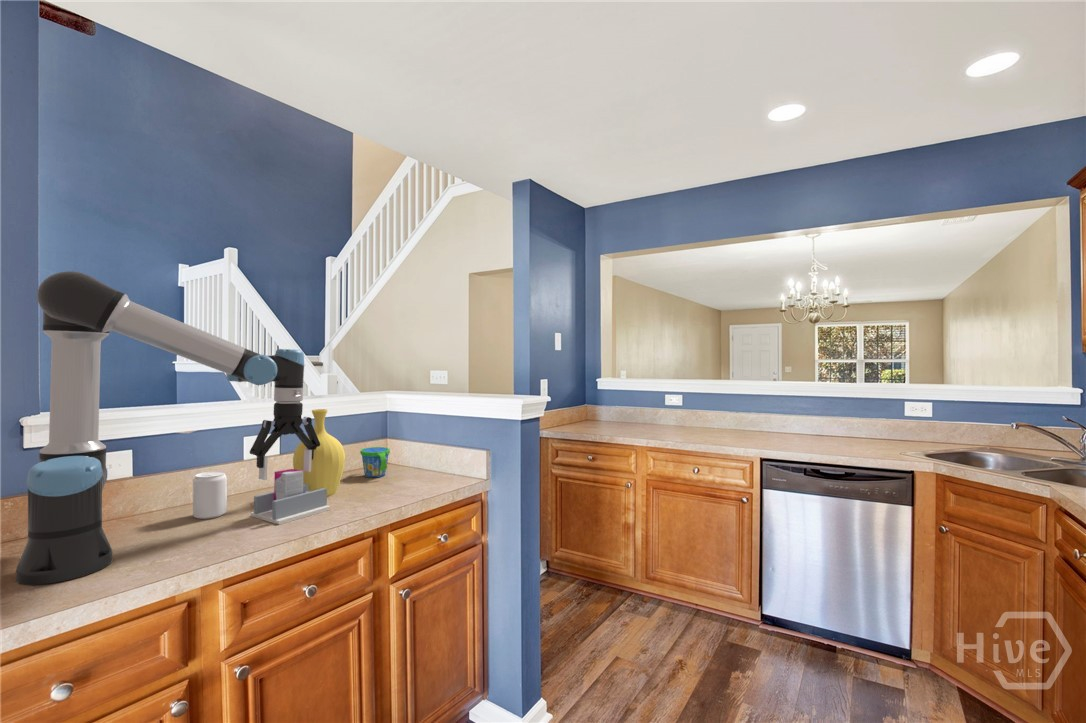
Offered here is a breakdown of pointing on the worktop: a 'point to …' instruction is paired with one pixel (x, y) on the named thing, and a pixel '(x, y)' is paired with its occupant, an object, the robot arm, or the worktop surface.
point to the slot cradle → (290, 506)
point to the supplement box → (288, 483)
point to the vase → (322, 459)
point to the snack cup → (375, 461)
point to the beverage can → (209, 494)
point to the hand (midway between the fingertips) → (285, 475)
